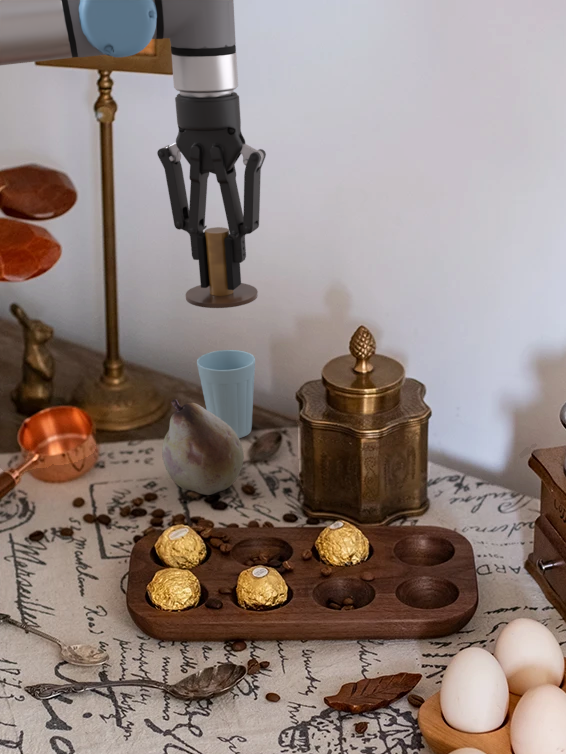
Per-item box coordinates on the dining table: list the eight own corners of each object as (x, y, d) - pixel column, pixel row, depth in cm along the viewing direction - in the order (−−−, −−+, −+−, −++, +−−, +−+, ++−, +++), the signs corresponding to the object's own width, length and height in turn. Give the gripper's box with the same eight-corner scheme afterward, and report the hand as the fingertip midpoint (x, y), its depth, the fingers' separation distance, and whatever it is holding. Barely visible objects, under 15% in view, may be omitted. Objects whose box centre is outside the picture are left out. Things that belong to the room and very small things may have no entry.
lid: (174, 305, 139) (167, 237, 135) (202, 284, 147) (197, 219, 143) (243, 310, 137) (238, 241, 133) (267, 288, 145) (264, 223, 141)
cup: (219, 416, 155) (213, 346, 150) (268, 424, 153) (264, 353, 148) (193, 438, 149) (186, 365, 144) (244, 446, 147) (239, 373, 142)
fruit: (151, 483, 137) (141, 394, 132) (213, 461, 143) (206, 374, 137) (198, 512, 131) (190, 419, 125) (261, 487, 136) (256, 397, 131)
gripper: (281, 89, 132) (290, 281, 143) (157, 85, 135) (174, 273, 146) (260, 98, 125) (270, 299, 136) (130, 94, 129) (150, 289, 140)
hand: (221, 285), depth 141 cm, fingers closed on lid, 3 cm apart
